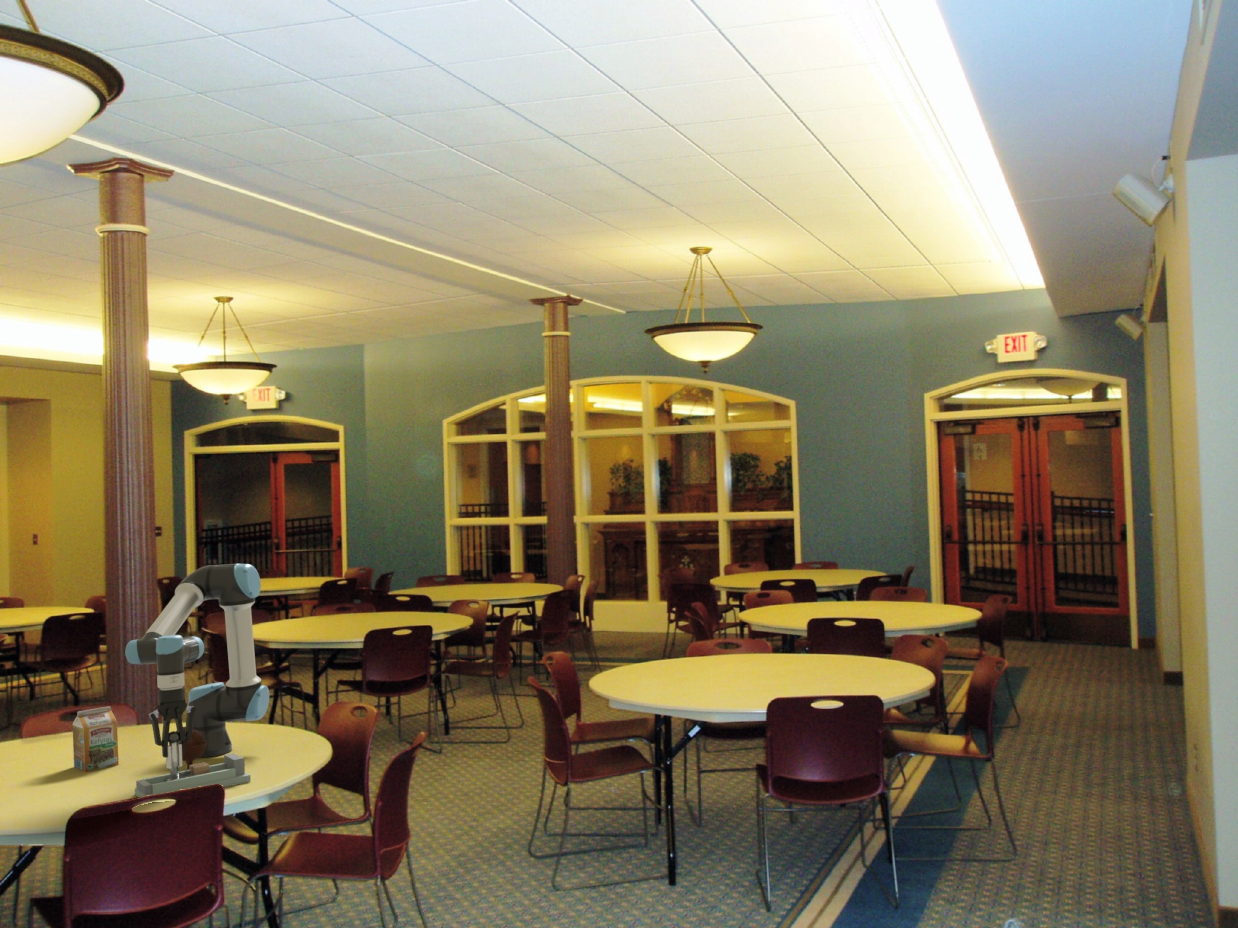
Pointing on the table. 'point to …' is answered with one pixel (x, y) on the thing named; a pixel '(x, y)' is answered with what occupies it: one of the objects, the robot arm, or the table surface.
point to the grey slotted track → (197, 778)
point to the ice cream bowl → (193, 747)
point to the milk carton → (95, 739)
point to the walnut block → (199, 768)
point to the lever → (175, 758)
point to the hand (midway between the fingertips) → (174, 766)
